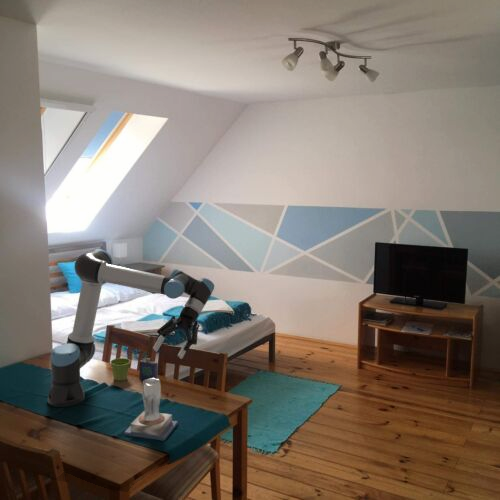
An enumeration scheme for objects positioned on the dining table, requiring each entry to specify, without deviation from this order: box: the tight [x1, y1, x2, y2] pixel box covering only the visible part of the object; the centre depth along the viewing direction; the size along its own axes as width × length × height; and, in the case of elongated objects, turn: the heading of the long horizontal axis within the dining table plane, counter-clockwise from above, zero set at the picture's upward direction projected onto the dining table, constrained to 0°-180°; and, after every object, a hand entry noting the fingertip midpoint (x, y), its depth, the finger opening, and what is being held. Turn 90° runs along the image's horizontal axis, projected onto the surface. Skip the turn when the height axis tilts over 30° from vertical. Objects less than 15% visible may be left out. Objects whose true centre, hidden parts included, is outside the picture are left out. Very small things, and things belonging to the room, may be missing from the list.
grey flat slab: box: [124, 420, 179, 442], centre depth 211 cm, size 16×14×1 cm
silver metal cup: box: [142, 378, 162, 422], centre depth 209 cm, size 7×7×15 cm
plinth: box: [130, 410, 173, 436], centre depth 210 cm, size 12×12×3 cm
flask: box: [139, 357, 159, 381], centre depth 260 cm, size 9×3×11 cm, turn 74°
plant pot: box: [109, 357, 131, 382], centre depth 260 cm, size 9×9×9 cm
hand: (166, 353), depth 222 cm, fingers open, 13 cm apart
